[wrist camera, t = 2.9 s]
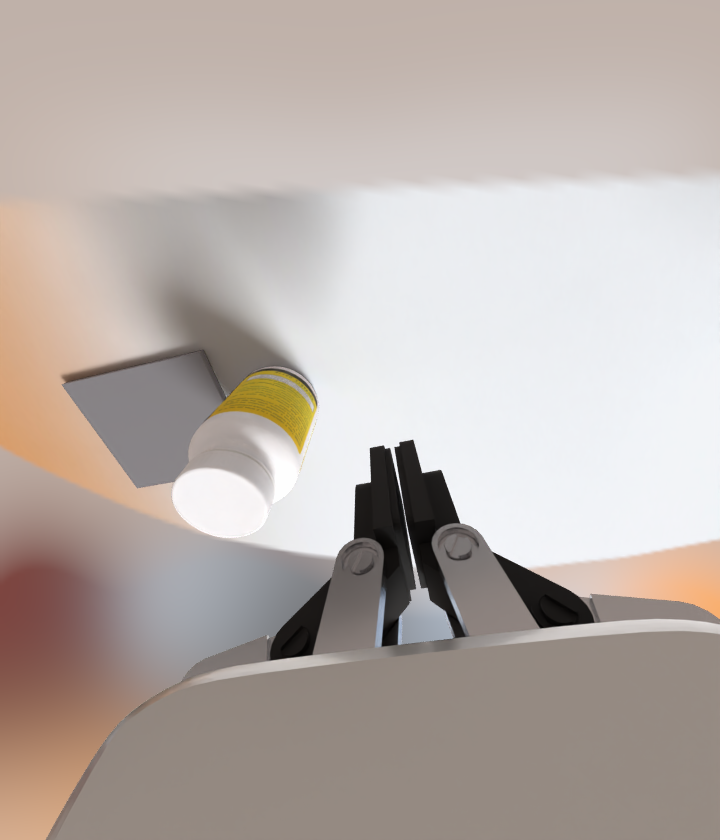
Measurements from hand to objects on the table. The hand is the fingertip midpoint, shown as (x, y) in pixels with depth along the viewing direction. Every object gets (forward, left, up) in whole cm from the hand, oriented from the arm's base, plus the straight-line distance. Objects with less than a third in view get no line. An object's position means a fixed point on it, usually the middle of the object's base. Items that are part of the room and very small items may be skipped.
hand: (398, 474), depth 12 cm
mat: (+16, 0, -10) cm, 19 cm away
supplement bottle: (+7, 0, -10) cm, 12 cm away
